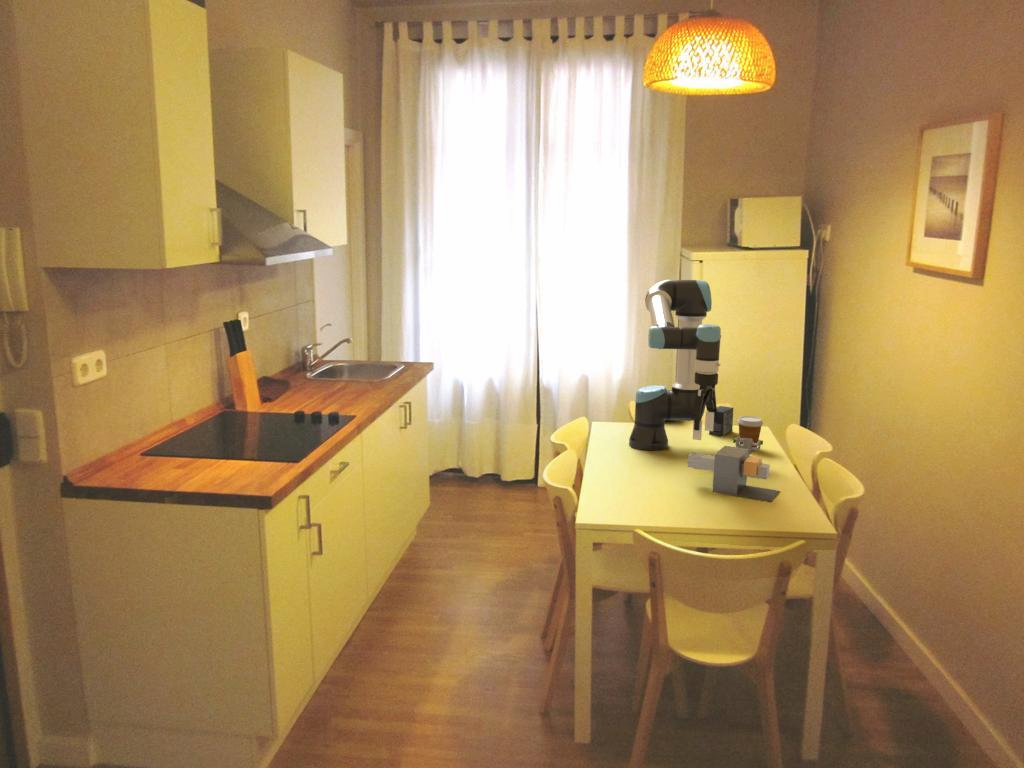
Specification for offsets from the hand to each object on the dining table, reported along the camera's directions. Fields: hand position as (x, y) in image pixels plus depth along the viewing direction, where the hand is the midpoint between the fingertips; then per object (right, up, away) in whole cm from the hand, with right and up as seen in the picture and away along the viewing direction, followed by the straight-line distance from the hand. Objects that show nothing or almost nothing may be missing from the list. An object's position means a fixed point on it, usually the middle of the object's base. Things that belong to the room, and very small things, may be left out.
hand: (703, 435), depth 282 cm
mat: (+16, -19, -5) cm, 26 cm away
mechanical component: (+21, -13, +26) cm, 36 cm away
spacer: (+15, -12, -6) cm, 20 cm away
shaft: (+8, -12, -2) cm, 14 cm away
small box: (+23, -4, +71) cm, 74 cm away
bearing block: (+9, -18, -1) cm, 20 cm away
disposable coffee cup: (+28, -8, +48) cm, 56 cm away
